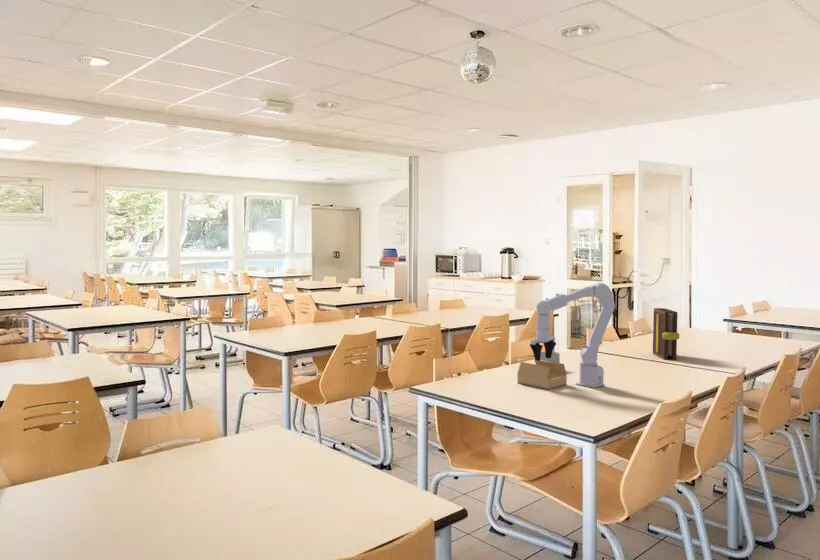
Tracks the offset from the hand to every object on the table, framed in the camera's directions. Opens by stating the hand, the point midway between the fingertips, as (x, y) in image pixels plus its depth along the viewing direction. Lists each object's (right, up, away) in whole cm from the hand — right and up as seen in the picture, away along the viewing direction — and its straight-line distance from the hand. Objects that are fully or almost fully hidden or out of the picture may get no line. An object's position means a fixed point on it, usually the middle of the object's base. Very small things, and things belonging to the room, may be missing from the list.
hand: (542, 359), depth 274 cm
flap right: (+3, -4, +2) cm, 5 cm away
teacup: (+10, -9, +32) cm, 34 cm away
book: (+78, -7, +63) cm, 100 cm away
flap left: (-5, -4, -6) cm, 9 cm away
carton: (-1, -11, -2) cm, 11 cm away
